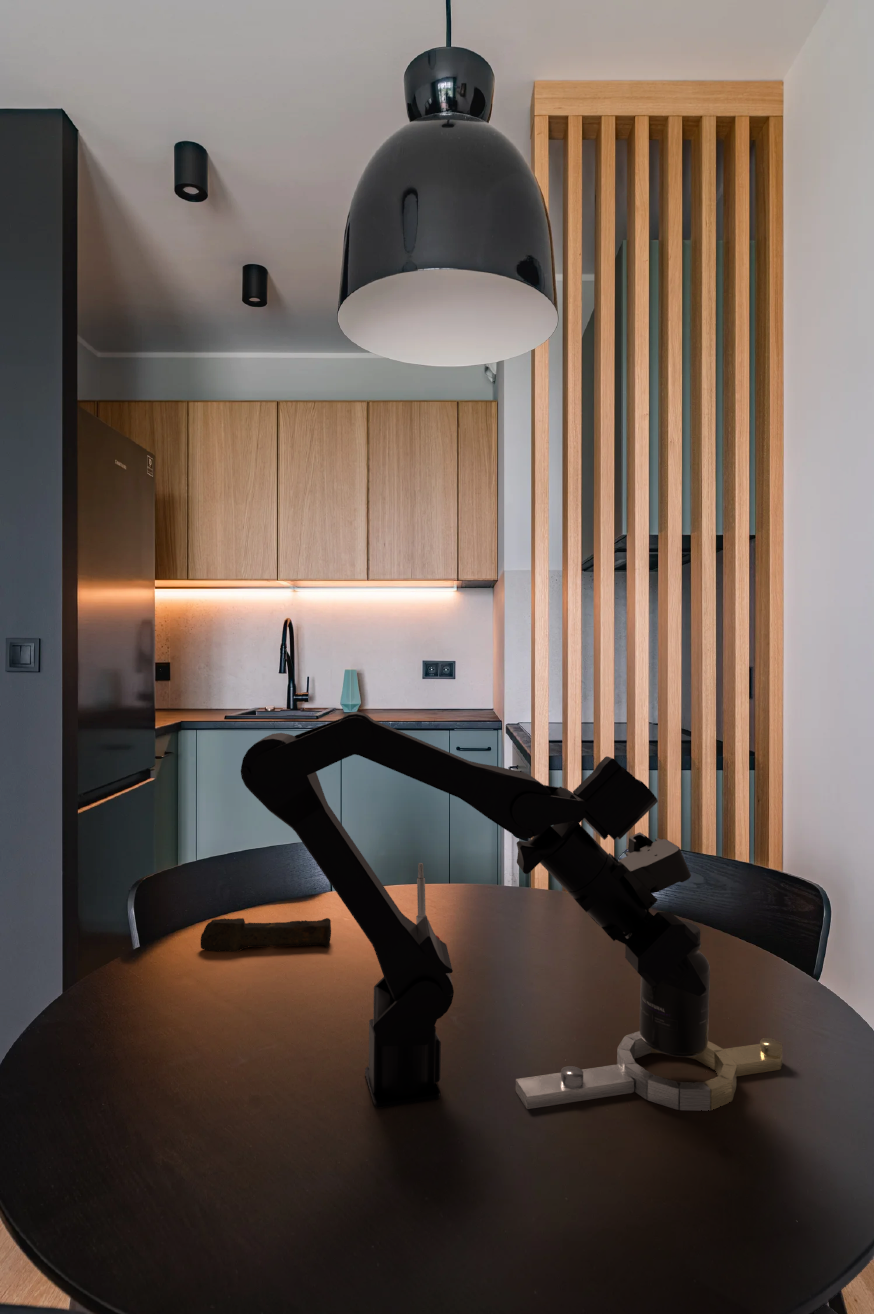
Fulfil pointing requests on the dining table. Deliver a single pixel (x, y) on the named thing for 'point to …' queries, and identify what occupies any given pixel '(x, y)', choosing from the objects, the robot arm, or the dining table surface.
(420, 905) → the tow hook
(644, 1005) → the supplement bottle
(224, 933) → the hand tool
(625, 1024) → the dining table surface
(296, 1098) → the dining table surface
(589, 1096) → the segmented ring handle
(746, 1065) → the ring with knobbed tab
